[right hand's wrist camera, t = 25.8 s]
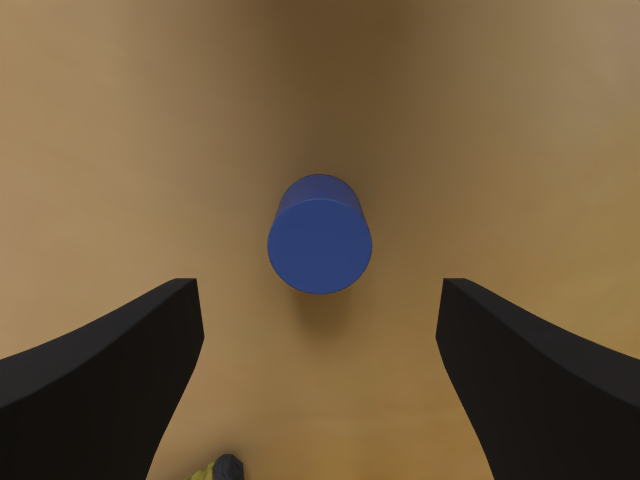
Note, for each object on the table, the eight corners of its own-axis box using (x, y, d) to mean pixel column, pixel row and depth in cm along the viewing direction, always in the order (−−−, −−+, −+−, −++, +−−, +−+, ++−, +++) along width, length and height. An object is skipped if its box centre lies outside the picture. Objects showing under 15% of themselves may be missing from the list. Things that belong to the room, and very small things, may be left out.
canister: (376, 199, 19) (392, 229, 15) (335, 264, 21) (339, 310, 16) (302, 158, 19) (297, 178, 14) (265, 229, 20) (249, 267, 16)
